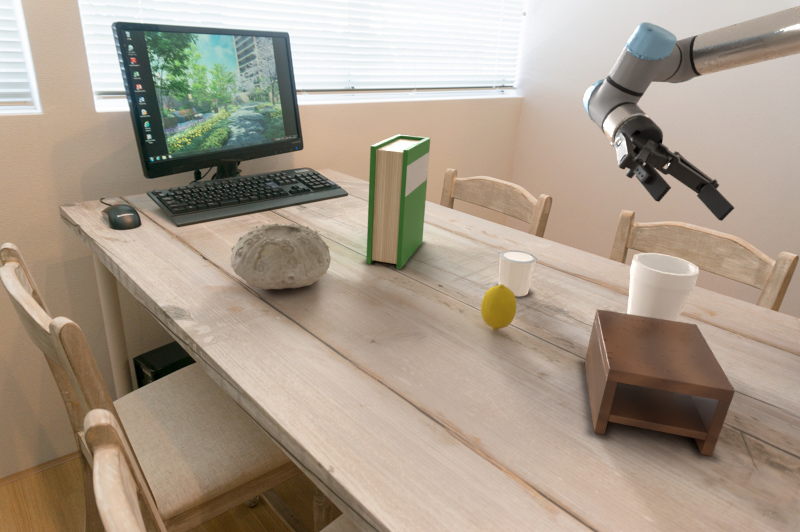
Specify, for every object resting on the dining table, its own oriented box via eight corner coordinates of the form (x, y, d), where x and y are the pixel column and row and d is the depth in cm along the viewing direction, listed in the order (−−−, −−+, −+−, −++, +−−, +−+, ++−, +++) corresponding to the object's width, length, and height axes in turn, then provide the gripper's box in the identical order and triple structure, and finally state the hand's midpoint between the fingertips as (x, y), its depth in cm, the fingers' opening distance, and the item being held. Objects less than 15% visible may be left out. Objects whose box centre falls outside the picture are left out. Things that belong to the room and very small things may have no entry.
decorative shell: (331, 301, 92) (331, 247, 88) (224, 302, 89) (220, 247, 85) (329, 262, 108) (329, 216, 104) (239, 262, 106) (236, 214, 102)
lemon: (498, 341, 82) (504, 295, 79) (471, 327, 86) (476, 282, 83) (519, 331, 86) (526, 286, 83) (493, 318, 90) (499, 274, 87)
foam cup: (603, 327, 89) (619, 255, 84) (644, 320, 92) (662, 250, 87) (647, 356, 81) (669, 278, 76) (690, 347, 84) (713, 272, 79)
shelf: (679, 380, 75) (696, 324, 72) (712, 456, 61) (735, 391, 57) (584, 363, 78) (596, 309, 74) (593, 433, 63) (609, 369, 60)
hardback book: (400, 269, 107) (408, 150, 98) (366, 263, 109) (370, 146, 100) (422, 242, 123) (430, 137, 114) (392, 237, 125) (397, 134, 116)
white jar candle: (504, 279, 105) (509, 246, 103) (537, 289, 102) (542, 255, 99) (488, 290, 100) (493, 256, 97) (522, 301, 96) (528, 265, 94)
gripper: (669, 167, 103) (733, 238, 88) (566, 133, 94) (618, 205, 79) (696, 134, 99) (769, 203, 84) (591, 95, 90) (651, 164, 75)
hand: (696, 204), depth 81 cm, fingers open, 13 cm apart
